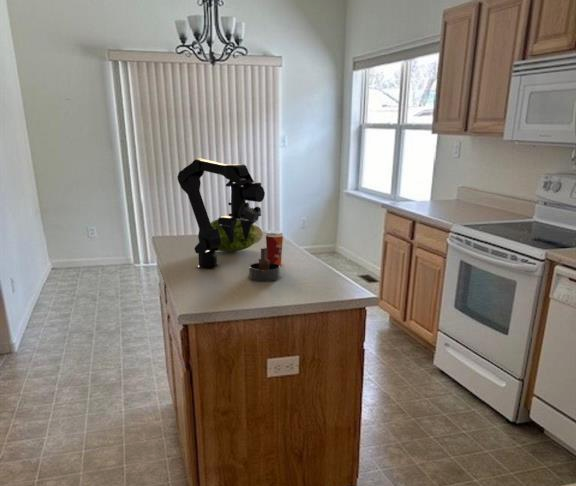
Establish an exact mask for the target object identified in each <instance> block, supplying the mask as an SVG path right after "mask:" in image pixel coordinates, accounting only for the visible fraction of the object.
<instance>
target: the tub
mask: <svg viewBox="0 0 576 486" xmlns="http://www.w3.org/2000/svg"><path fill="white" fill-rule="evenodd" d="M280 267H281V266H279V265H277V264H274V263H269V270H260V269H259V262H254V263H250V264H249V265H248V278H249V279H250V280H252V281H254V282H261V283H262V282H263V283H267V282H274V281H278V280H279V279H280V274H281V273H280Z"/></svg>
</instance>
